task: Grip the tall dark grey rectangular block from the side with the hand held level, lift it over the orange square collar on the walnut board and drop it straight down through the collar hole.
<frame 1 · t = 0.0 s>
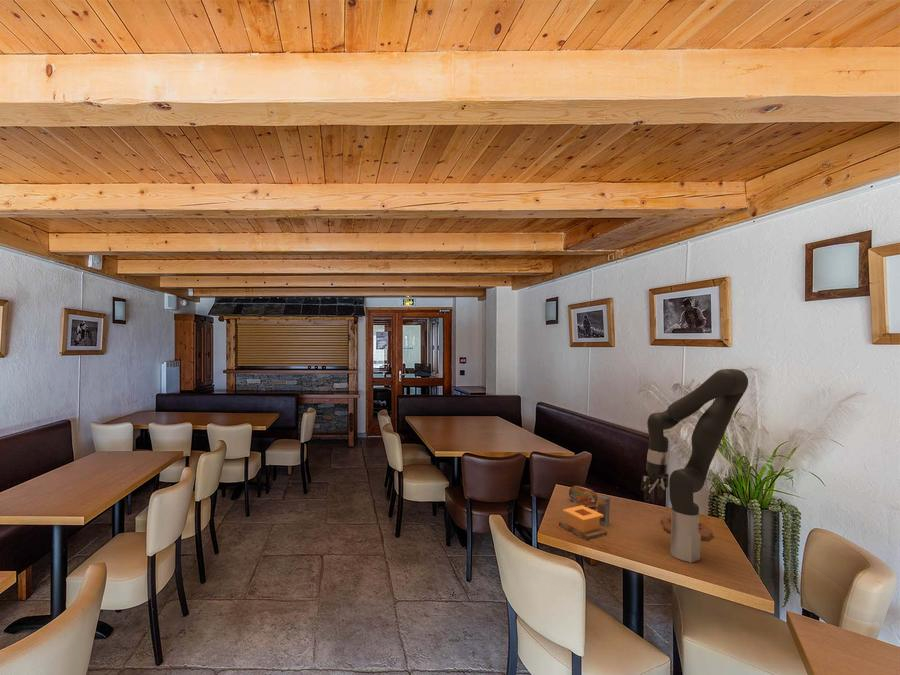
hand: (653, 499, 177), 17 cm above the table, tool pointing down, fingers open, 8 cm apart
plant: (686, 531, 189), on the table
orange square collar: (582, 519, 185), on the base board, point 4 cm above the table
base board: (582, 529, 185), on the table
dark grey rectangular block: (603, 524, 192), on the table
tin: (583, 504, 215), on the table
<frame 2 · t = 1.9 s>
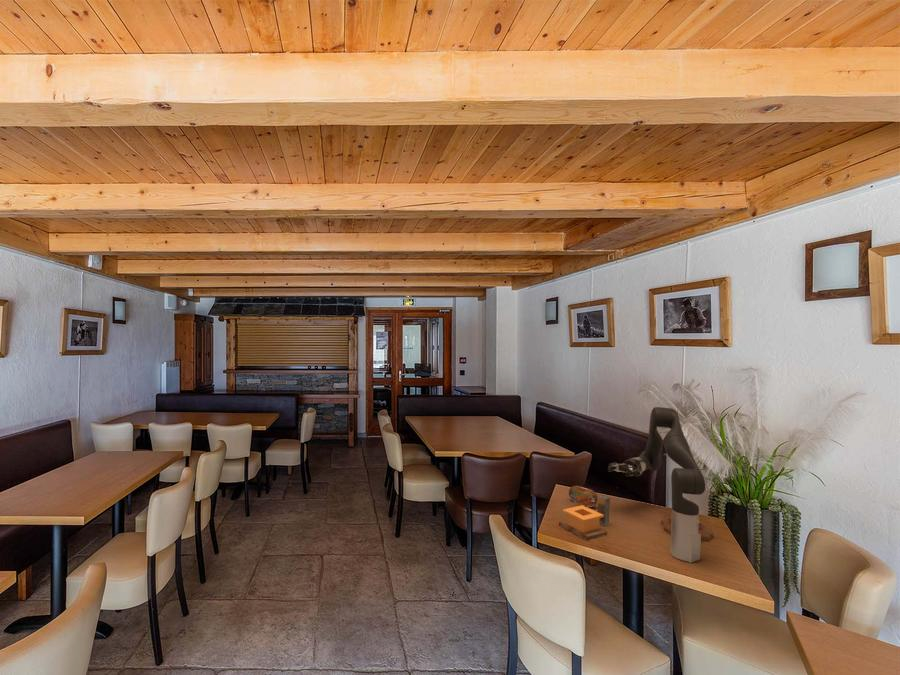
hand: (617, 471, 199), 21 cm above the table, tool horizontal, fingers open, 8 cm apart
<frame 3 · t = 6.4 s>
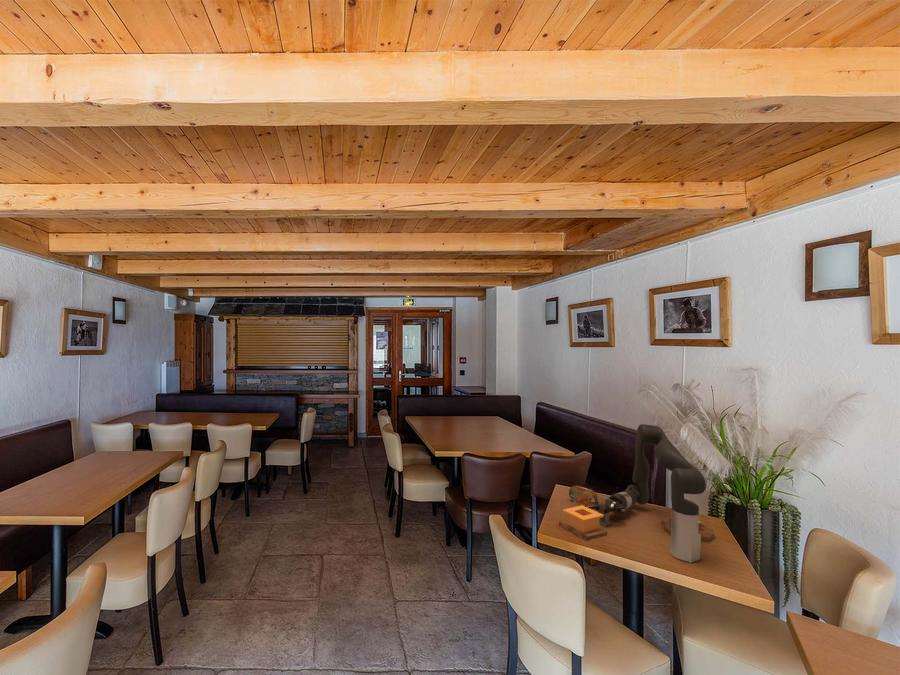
hand: (600, 509, 190), 7 cm above the table, tool horizontal, fingers closed on dark grey rectangular block, 3 cm apart
dark grey rectangular block: (603, 524, 192), on the table, touching gripper
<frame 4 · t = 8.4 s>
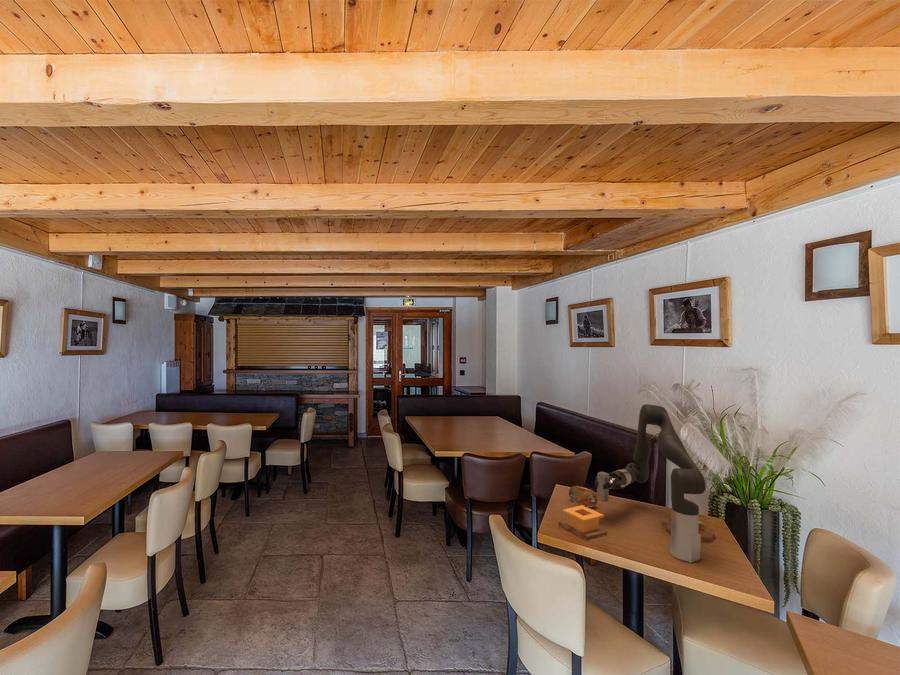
hand: (599, 485, 190), 18 cm above the table, tool horizontal, fingers closed on dark grey rectangular block, 3 cm apart
dark grey rectangular block: (602, 500, 192), point 11 cm above the table, touching gripper
when the fingers open (16 cm above the table, at t = 10.5 s): dark grey rectangular block drops 7 cm, resting on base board.
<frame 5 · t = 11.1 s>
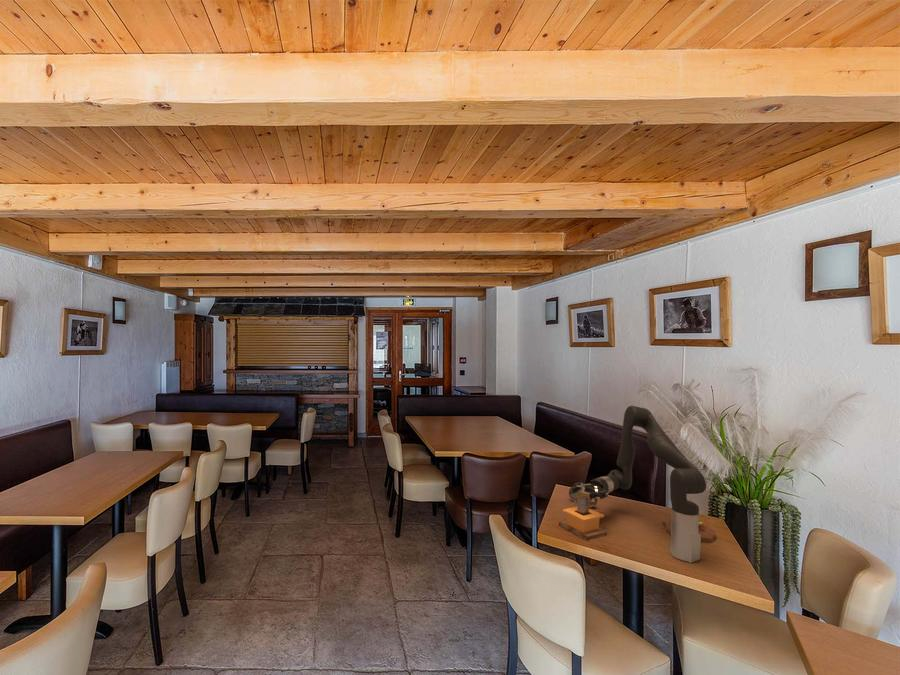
hand: (581, 493, 184), 16 cm above the table, tool horizontal, fingers open, 8 cm apart
dark grey rectangular block: (582, 526, 185), point 2 cm above the table, touching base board
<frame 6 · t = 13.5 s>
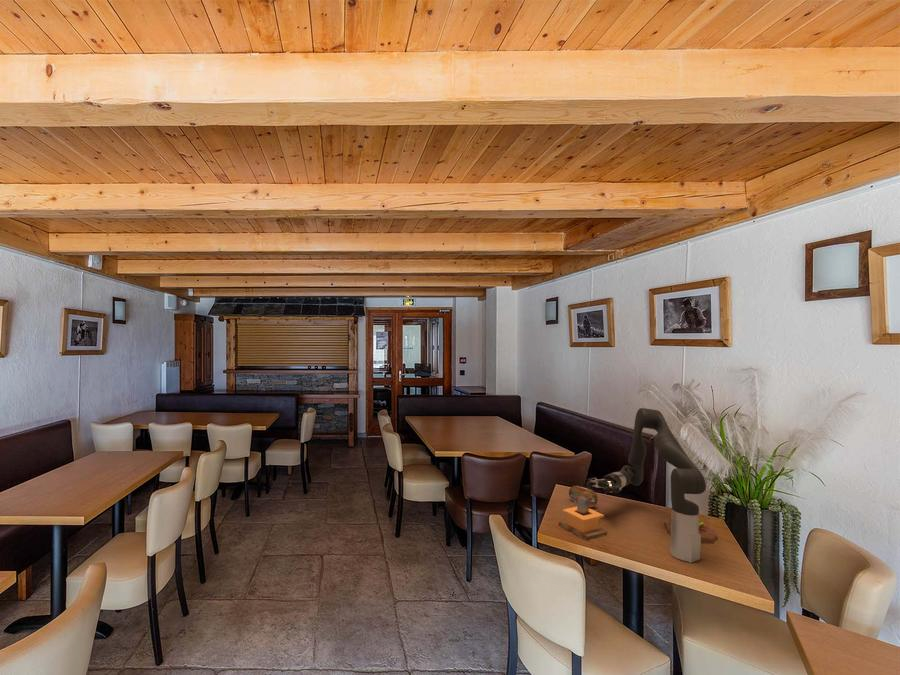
hand: (595, 488, 192), 16 cm above the table, tool horizontal, fingers open, 8 cm apart
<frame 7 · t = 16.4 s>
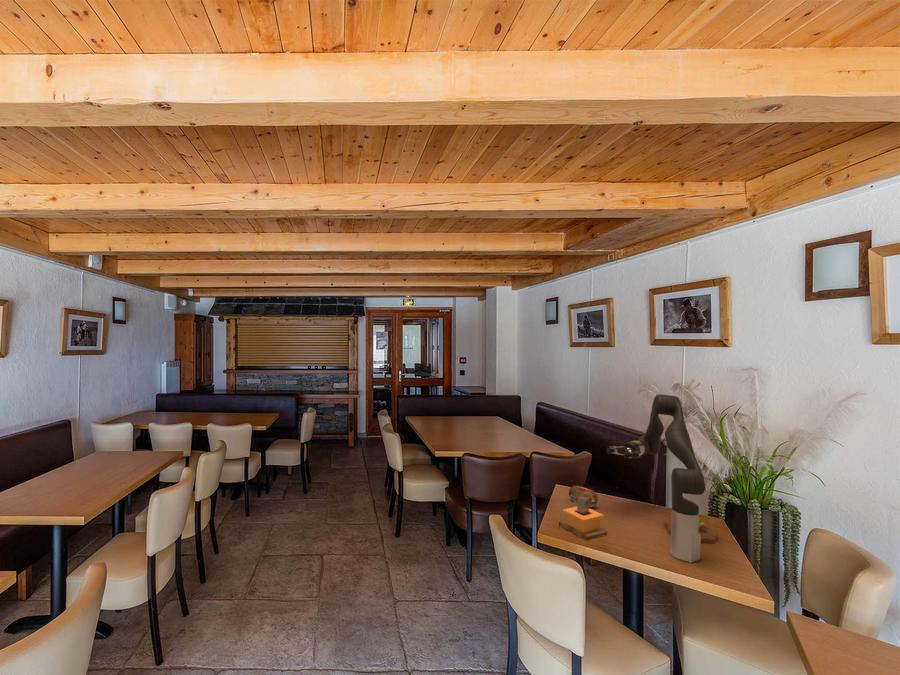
hand: (615, 453, 198), 30 cm above the table, tool horizontal, fingers open, 8 cm apart
at the end: dark grey rectangular block 0.1 cm off-centre on the orange square collar, point 1.5 cm above the orange square collar's base; dark grey rectangular block tilted 0°; the gripper is holding nothing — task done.
